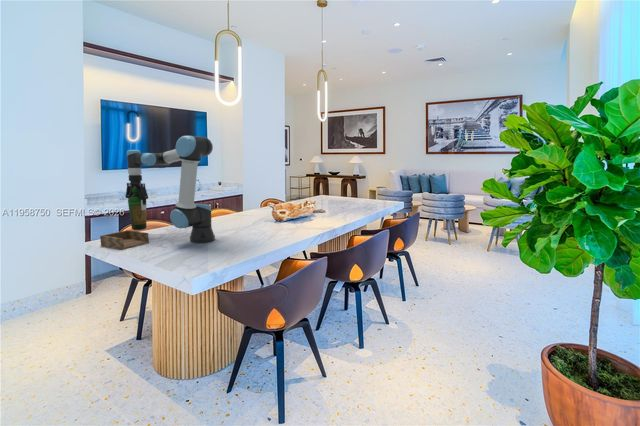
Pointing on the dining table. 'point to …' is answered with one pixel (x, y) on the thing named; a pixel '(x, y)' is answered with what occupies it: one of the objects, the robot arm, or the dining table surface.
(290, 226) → the dining table surface
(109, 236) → the tray
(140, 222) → the bottle
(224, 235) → the dining table surface
